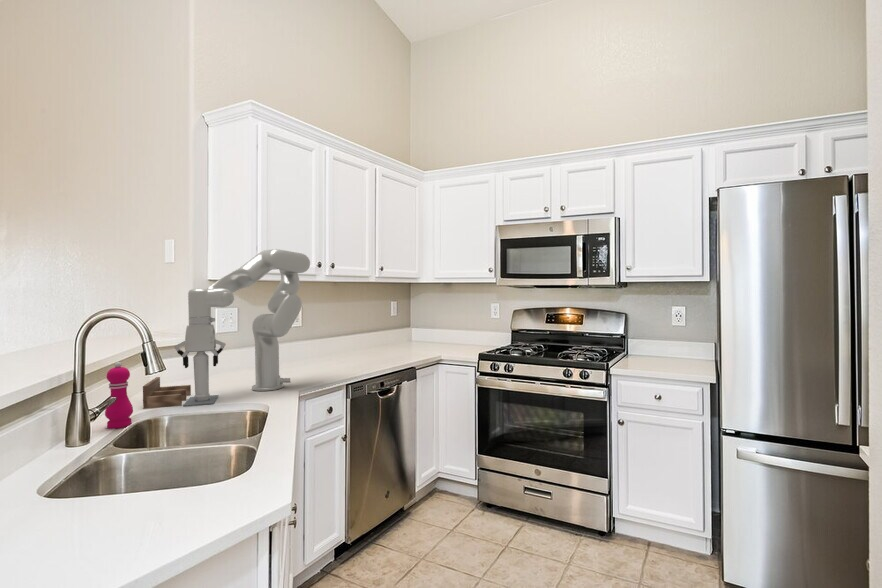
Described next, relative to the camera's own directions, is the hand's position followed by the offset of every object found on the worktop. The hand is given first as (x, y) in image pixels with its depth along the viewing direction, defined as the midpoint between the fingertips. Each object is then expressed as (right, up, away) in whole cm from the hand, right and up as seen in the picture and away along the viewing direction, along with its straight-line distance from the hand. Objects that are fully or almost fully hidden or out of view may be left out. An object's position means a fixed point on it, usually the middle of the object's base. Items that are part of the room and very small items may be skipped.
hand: (200, 366), depth 177 cm
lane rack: (-13, -13, +1) cm, 18 cm away
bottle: (0, -13, 0) cm, 13 cm away
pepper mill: (-9, -14, -31) cm, 35 cm away
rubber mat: (0, -13, 0) cm, 13 cm away
